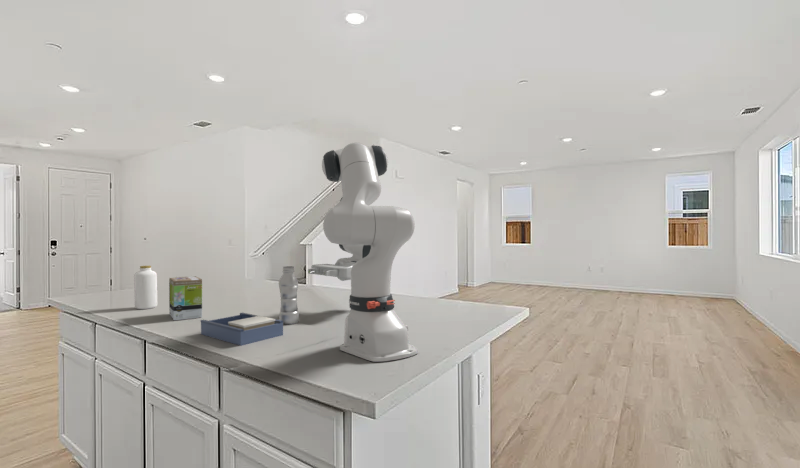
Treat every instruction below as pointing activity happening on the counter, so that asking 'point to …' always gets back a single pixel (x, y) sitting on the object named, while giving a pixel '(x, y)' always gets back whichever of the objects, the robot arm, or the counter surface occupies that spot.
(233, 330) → the tote
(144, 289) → the potion bottle
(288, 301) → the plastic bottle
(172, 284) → the tea box
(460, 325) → the counter surface
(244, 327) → the carton
